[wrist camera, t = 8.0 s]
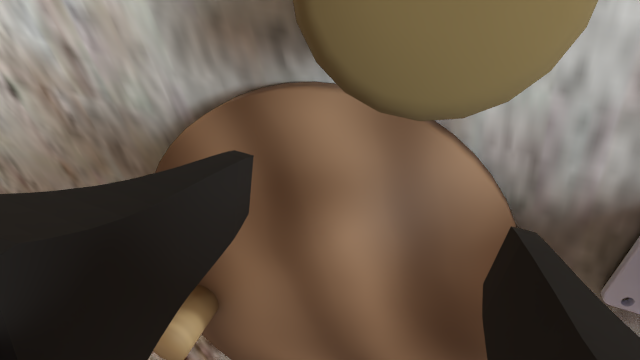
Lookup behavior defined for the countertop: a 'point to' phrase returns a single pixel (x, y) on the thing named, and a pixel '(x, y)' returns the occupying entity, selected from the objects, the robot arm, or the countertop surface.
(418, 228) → the disc
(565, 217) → the countertop surface
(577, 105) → the countertop surface
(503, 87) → the olive pawn piece
